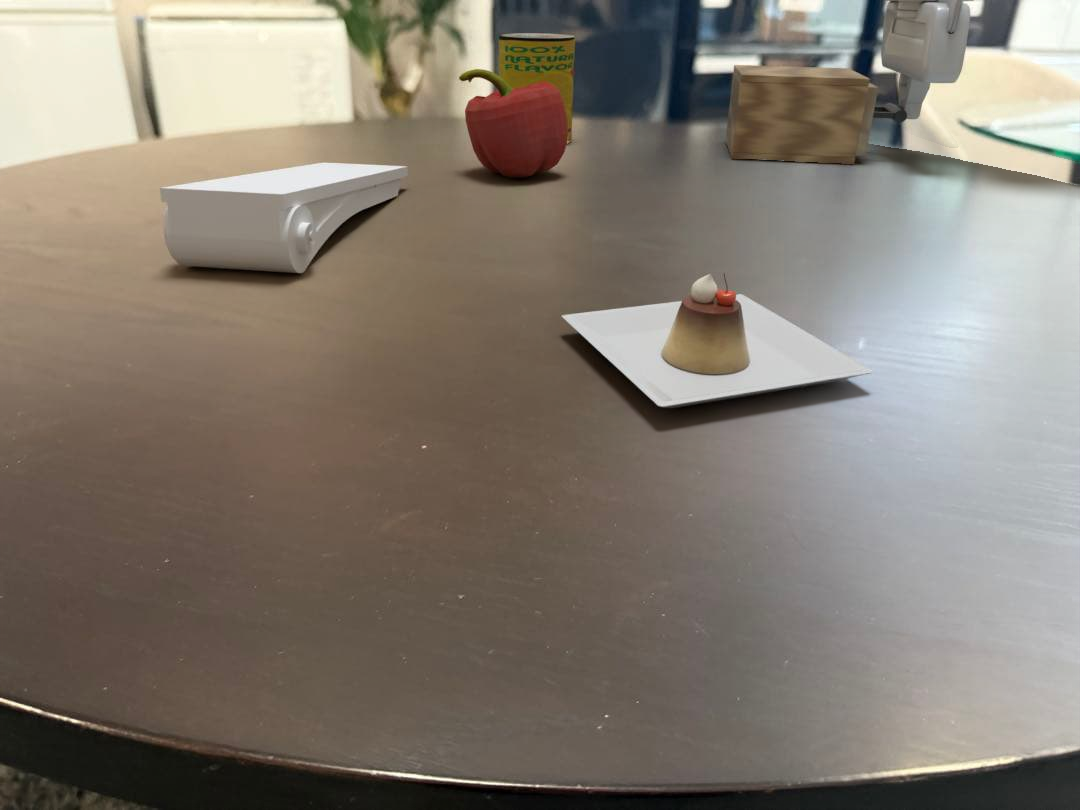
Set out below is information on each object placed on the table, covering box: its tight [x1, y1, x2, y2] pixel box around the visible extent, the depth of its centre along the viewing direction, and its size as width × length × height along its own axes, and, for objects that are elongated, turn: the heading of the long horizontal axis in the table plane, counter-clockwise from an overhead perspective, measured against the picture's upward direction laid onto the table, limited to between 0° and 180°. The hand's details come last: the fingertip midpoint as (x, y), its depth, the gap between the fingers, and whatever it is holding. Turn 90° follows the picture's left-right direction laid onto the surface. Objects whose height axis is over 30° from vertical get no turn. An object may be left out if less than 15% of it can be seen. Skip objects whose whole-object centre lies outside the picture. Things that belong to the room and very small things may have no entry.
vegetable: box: [458, 68, 568, 178], centre depth 84 cm, size 11×10×10 cm
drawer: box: [855, 82, 907, 157], centre depth 97 cm, size 17×10×7 cm, turn 82°
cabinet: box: [724, 64, 871, 165], centre depth 98 cm, size 14×12×9 cm
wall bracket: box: [159, 162, 409, 274], centre depth 67 cm, size 10×7×28 cm
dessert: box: [561, 272, 874, 409], centre depth 44 cm, size 12×12×5 cm
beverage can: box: [498, 32, 576, 141], centre depth 101 cm, size 9×9×12 cm
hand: (907, 117), depth 96 cm, fingers closed, pressing on drawer
